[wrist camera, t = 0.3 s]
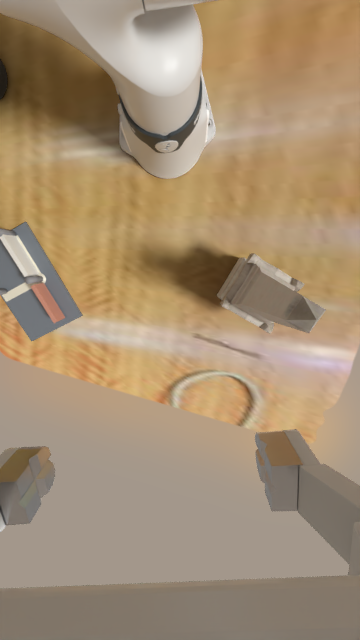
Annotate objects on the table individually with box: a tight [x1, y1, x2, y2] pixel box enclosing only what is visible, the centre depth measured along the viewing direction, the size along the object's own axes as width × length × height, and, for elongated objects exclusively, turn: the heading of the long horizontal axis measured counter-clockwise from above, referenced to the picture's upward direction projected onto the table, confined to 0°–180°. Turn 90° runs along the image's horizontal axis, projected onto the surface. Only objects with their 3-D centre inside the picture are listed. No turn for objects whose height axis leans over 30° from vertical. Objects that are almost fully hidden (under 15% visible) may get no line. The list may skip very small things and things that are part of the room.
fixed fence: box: [0, 229, 43, 295], centre depth 51 cm, size 12×10×5 cm
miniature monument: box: [217, 254, 326, 333], centre depth 39 cm, size 10×10×30 cm
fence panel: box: [31, 283, 65, 323], centre depth 53 cm, size 9×1×4 cm, turn 26°
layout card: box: [0, 222, 83, 341], centre depth 55 cm, size 23×14×1 cm, turn 26°
